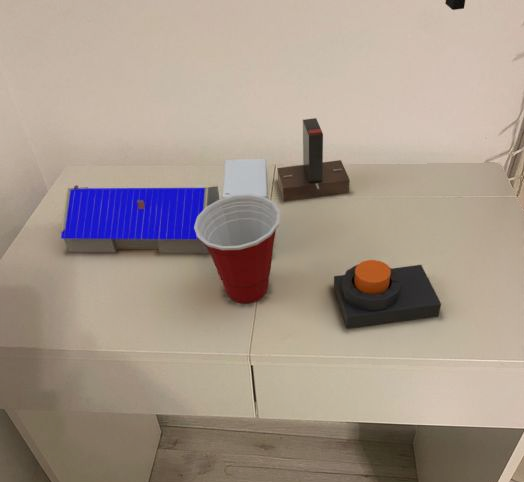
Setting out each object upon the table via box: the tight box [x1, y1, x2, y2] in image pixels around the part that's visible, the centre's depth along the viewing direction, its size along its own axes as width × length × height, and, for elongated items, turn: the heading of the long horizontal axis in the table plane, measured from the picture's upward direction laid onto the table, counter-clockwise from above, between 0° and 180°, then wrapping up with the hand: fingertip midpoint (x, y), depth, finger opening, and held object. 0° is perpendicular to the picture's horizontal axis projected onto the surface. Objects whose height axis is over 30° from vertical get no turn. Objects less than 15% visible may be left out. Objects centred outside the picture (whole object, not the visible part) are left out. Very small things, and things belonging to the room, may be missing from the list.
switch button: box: [354, 259, 391, 294], centre depth 70 cm, size 4×4×2 cm
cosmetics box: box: [221, 157, 270, 200], centre depth 81 cm, size 10×6×10 cm, turn 0°
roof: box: [60, 185, 221, 254], centre depth 86 cm, size 22×14×7 cm, turn 84°
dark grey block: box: [302, 117, 324, 183], centre depth 89 cm, size 6×2×8 cm, turn 7°
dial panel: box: [276, 159, 351, 202], centre depth 92 cm, size 11×10×3 cm
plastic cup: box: [194, 194, 281, 304], centre depth 72 cm, size 11×11×12 cm
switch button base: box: [333, 264, 442, 329], centre depth 72 cm, size 12×8×4 cm, turn 97°
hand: (454, 5), depth 72 cm, fingers closed
